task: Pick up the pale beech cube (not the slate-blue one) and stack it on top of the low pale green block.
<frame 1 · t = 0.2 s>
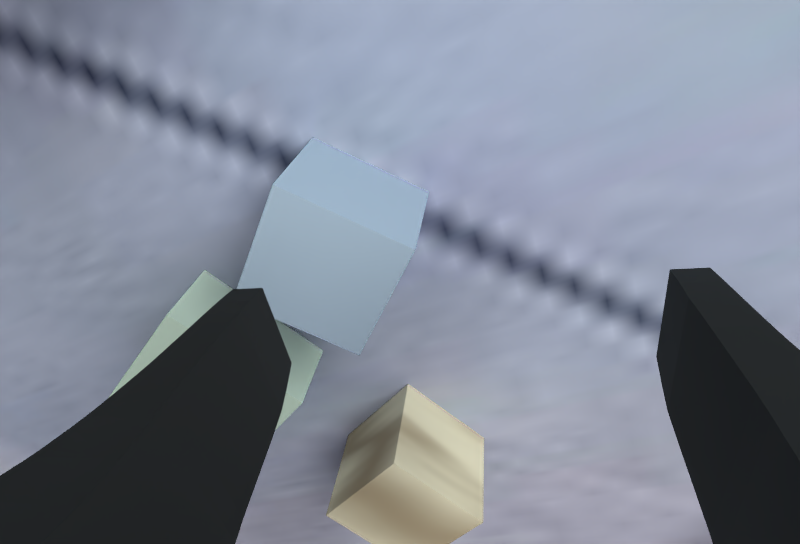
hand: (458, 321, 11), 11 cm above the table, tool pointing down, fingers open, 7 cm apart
pale green block: (233, 349, 26), on the table
beech cube: (415, 435, 27), on the table
slate cube: (349, 215, 22), on the table
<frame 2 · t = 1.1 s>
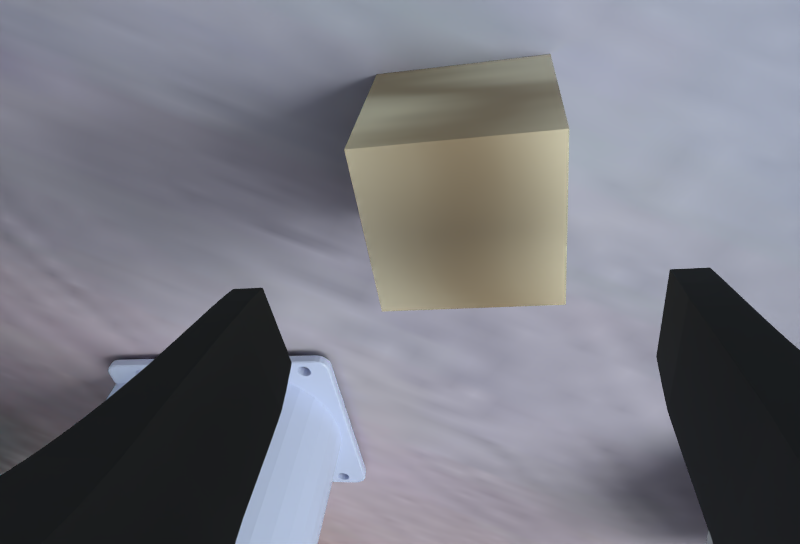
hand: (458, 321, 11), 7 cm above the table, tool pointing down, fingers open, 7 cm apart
beech cube: (468, 143, 16), on the table
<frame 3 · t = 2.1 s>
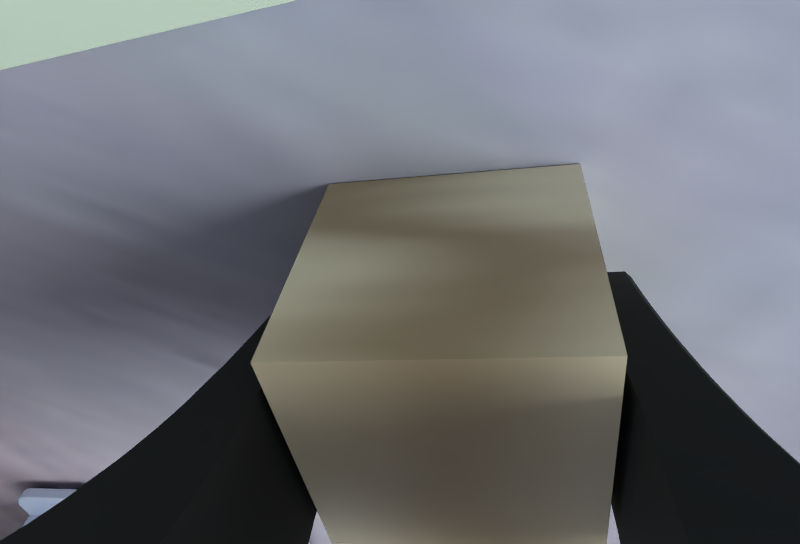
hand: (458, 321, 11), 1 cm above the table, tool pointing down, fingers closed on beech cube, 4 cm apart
beech cube: (461, 273, 12), on the table, touching gripper
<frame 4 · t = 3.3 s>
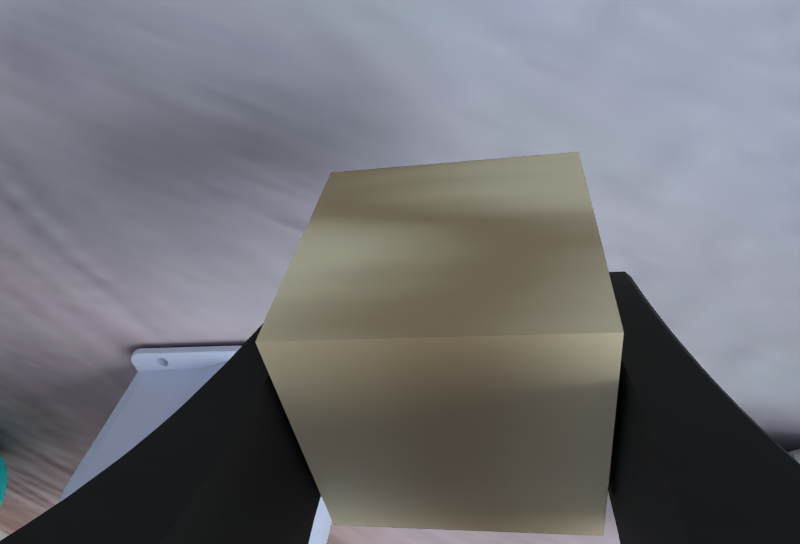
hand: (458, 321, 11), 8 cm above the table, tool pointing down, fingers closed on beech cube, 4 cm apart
beech cube: (461, 261, 12), point 7 cm above the table, touching gripper
when the fingers open (6 cm above the table, at t = 4.8 s): beech cube stays where it is, resting on pale green block.
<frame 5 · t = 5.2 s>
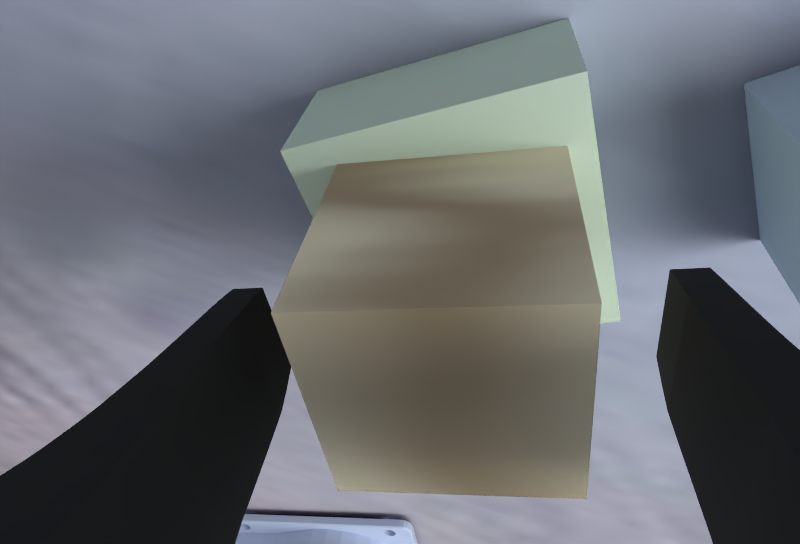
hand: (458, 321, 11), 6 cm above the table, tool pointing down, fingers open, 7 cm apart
pale green block: (467, 164, 15), on the table, touching beech cube
beech cube: (458, 248, 13), point 3 cm above the table, touching pale green block
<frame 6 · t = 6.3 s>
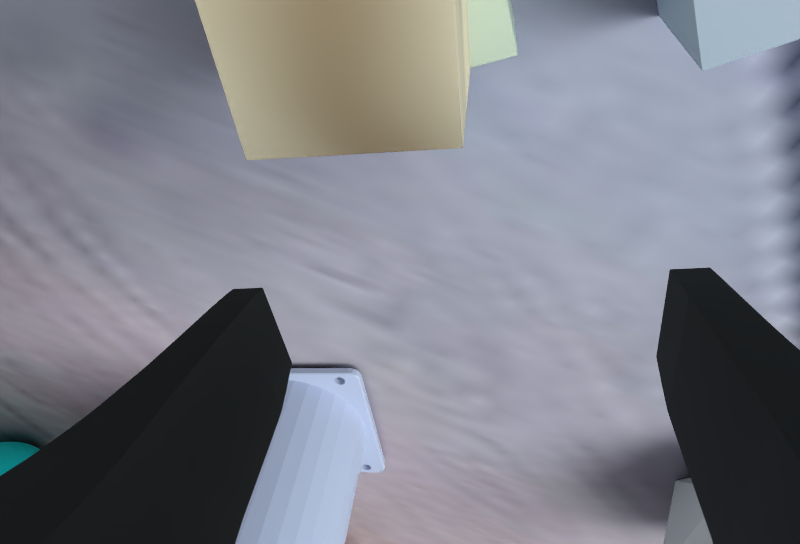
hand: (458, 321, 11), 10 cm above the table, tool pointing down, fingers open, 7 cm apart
die: (738, 480, 29), on the table
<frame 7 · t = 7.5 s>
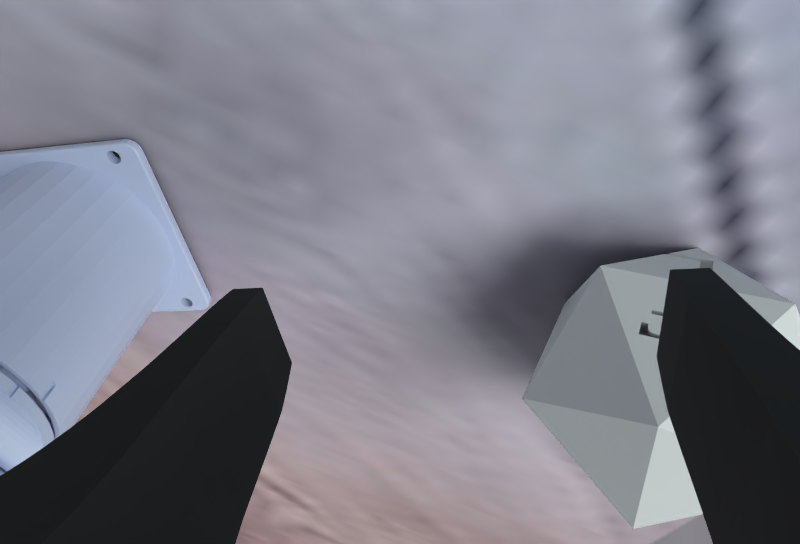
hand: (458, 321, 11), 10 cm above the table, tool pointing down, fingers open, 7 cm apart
die: (643, 299, 23), on the table
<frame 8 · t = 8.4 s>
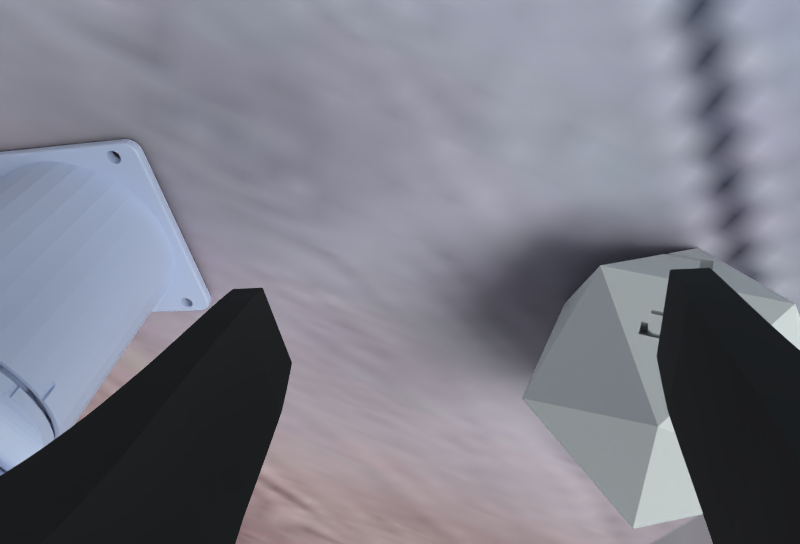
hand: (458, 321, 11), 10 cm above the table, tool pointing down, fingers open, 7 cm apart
die: (643, 299, 23), on the table
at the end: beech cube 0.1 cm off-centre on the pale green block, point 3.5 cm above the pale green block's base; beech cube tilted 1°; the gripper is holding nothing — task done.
